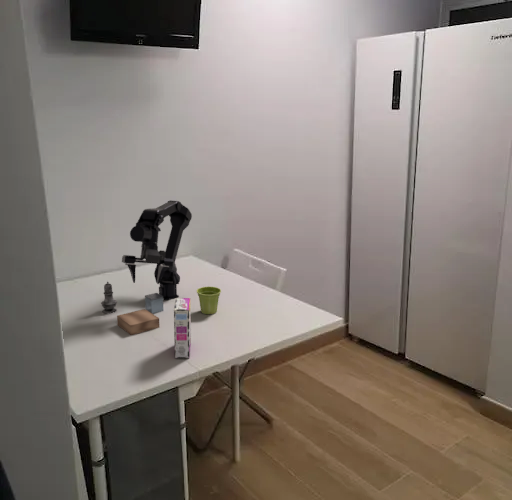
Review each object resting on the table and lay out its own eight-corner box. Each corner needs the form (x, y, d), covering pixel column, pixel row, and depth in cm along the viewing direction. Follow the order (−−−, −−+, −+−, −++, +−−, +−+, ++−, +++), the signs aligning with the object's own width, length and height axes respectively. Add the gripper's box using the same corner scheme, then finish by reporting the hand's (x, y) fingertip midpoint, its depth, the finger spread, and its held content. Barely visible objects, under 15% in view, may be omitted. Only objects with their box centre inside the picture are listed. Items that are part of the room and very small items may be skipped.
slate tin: (157, 307, 206) (156, 292, 204) (163, 311, 202) (163, 296, 201) (145, 310, 203) (144, 295, 201) (151, 314, 199) (151, 299, 197)
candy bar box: (190, 358, 164) (189, 309, 159) (174, 359, 163) (172, 310, 159) (191, 343, 175) (190, 297, 170) (176, 343, 174) (175, 297, 170)
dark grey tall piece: (113, 314, 198) (111, 284, 195) (98, 313, 199) (96, 283, 196) (120, 308, 203) (118, 279, 200) (106, 307, 205) (104, 278, 201)
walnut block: (145, 318, 195) (144, 308, 194) (159, 328, 187) (159, 318, 186) (117, 325, 188) (116, 315, 187) (131, 336, 180) (130, 325, 179)
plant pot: (225, 309, 204) (225, 288, 202) (213, 318, 196) (213, 296, 194) (204, 305, 208) (204, 285, 206) (192, 313, 200) (191, 292, 197)
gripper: (129, 241, 186) (125, 284, 187) (179, 245, 195) (176, 287, 195) (123, 240, 196) (119, 281, 197) (171, 244, 205) (167, 283, 205)
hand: (146, 283), depth 198 cm, fingers open, 9 cm apart
